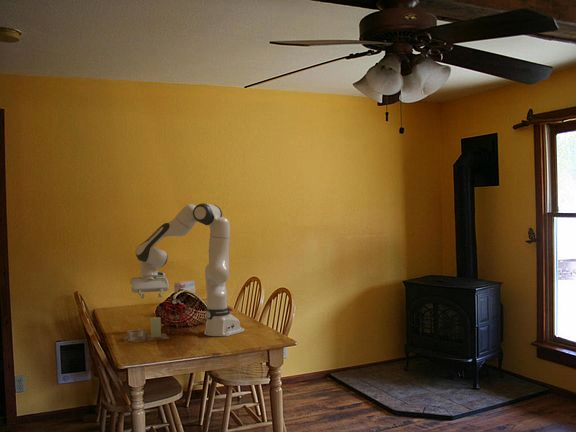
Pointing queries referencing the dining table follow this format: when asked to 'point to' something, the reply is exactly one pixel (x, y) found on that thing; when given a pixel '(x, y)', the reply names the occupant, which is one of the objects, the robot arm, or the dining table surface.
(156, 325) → the slat
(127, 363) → the dining table surface
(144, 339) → the end cap board
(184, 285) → the cracker box
